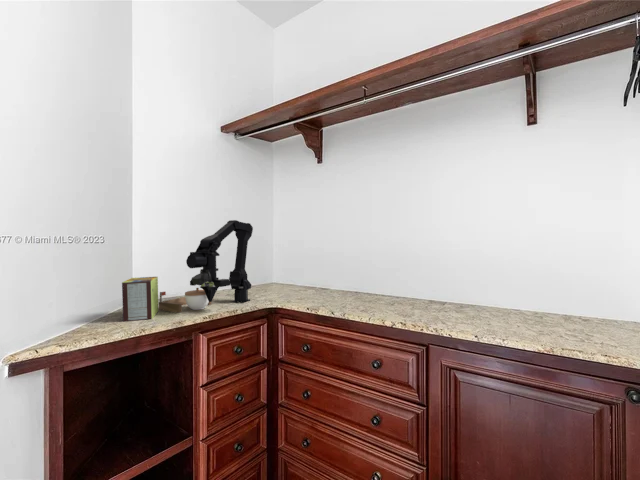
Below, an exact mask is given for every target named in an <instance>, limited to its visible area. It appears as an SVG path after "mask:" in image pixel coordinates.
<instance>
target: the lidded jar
mask: <svg viewBox="0 0 640 480" xmlns="http://www.w3.org/2000/svg"><path fill="white" fill-rule="evenodd" d="M195 288H196V289H195V290H188V291H185V292H184V295H185V296H184V297H185V300H186V303H187V304H186V305H187V307H188V308H189V309H191V310H192V311H198V310H203V309H206V307H207V306H209V305H208V303H209V301H208V298H207V296H206V293H205V291H204V290H203V289H199V288H200V287H195Z"/></svg>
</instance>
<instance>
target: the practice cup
mask: <svg viewBox="0 0 640 480" xmlns="http://www.w3.org/2000/svg"><path fill="white" fill-rule="evenodd" d="M166 295H167V293H166V291H159V301H158V311H163V312H164V311H165V312H173V313H179V314H180V313H182V312H183V311H182V310H183V309H182V306H184V305H187V303H186V300H185V296H183V297H178V298H177V297H176V298H173V299H167V300H164V301H163V299H162V298H163V296H166ZM211 305H212V302H209V303H208V305H207V306H211Z"/></svg>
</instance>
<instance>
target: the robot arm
mask: <svg viewBox="0 0 640 480" xmlns="http://www.w3.org/2000/svg"><path fill="white" fill-rule="evenodd" d="M226 222H227V223H225V224H224V225H222V227H220V228H219V229H218V230H217V231H216V232H214V233H213V234H211V235H208V236H206V237H203V238H202V239H201V240H200V243H199V244H198V246H197V248H196V250H195V251H190V252H189V254H188V256H187V258H186V260H185V261H186V266H187V267H188V268H189V269H199V268H200V270H199V273H197V274H196V275H194V276H193V277H191V279H190V280H189V285H190V286H194V287H195V286H199V288H200V289H201V290H204V291H205V293H206V296H207V298H208V301H209V302H211V303H212V301H213V300H214V297H215V295H216V293H217V291H218V290H219V288H223V287H229V286H230V289H231V290H234V300H231V301H232V302H233V303H247V302H249V301H251V299H250V298H249V293H248V292H249V290H251V289H252V284H251V282H250V281H249V280H248V273H247V271H246V264H247V263H246V262H247V261H246V260H247V253H248V252H247V251H248V244H249V243H248V242H249V240H250V239H251V238H252V235H253V232H254V231H253V230H254V227H253V226H252V224H251V223H249V222H247V223H246V222H242V221H239V220H237V219H232V220H228V221H226ZM233 232H234V234H235V237H236V239H237V245H236V254H235V264H234V269H233V270H232V271H231V270H230V272H229V277H228V278H219V277H218V276H217V272H218V271H219V268H217V257H219V256H220V253H219V252H217V251H218V249H219V248H220V247H221V245H222V243H223V241H224V240H225V239H226V238H227V237H228V236H230V234H232V233H233ZM201 268H202V269H201Z"/></svg>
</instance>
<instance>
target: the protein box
mask: <svg viewBox="0 0 640 480" xmlns="http://www.w3.org/2000/svg"><path fill="white" fill-rule="evenodd" d="M158 279H159V278H158V276H143V277H142V276H141V277H131V278H128V279H126V280H124V281H122V282H121V289H122V290H121V291H122V294H121V295H122V299H121V300H122V321H123V322H134V321H135V322H136V321H145V320H147V321H148V320H153V318H154V317H155V316H156V314H158V312H159V285H158V284H159V281H158Z"/></svg>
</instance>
